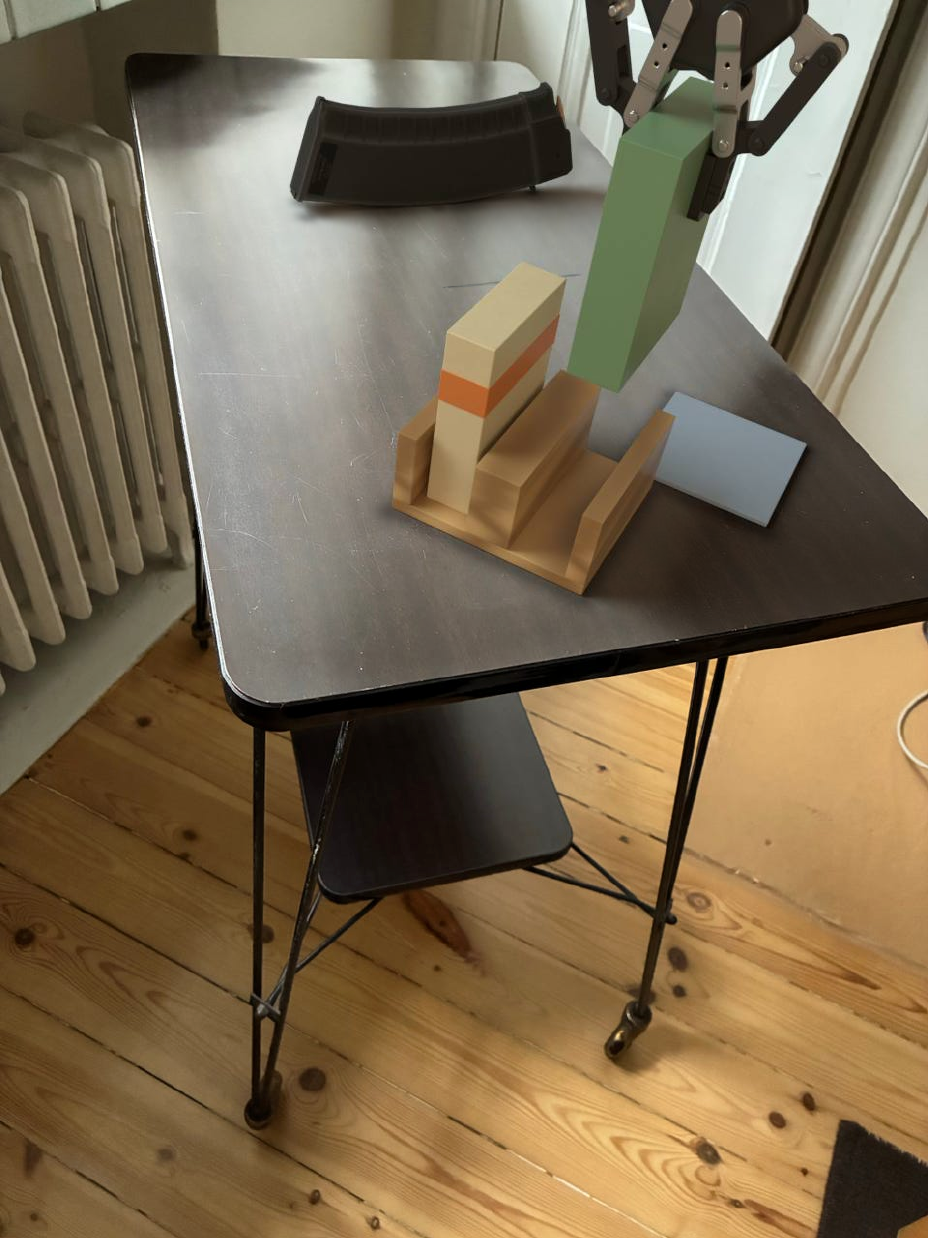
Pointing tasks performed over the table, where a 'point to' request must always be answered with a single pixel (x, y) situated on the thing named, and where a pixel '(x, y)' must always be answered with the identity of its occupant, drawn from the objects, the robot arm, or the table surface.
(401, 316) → the table surface
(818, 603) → the table surface
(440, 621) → the table surface
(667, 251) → the green book
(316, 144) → the magazine
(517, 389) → the cream book
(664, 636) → the table surface
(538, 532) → the book rack
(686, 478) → the felt pad
